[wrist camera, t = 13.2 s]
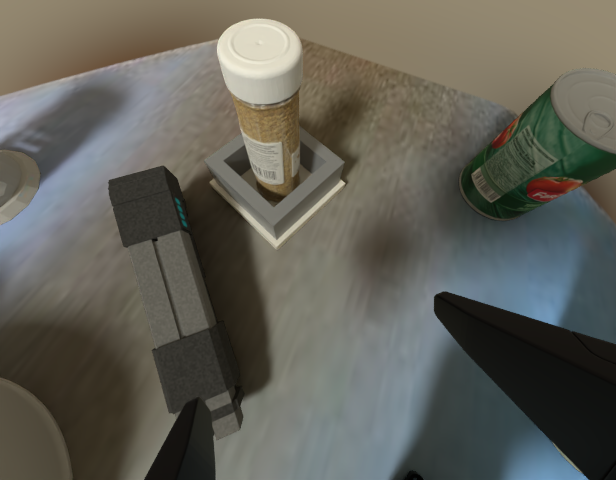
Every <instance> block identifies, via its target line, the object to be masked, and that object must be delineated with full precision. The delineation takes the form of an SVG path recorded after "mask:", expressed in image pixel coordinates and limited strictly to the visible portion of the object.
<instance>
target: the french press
mask: <svg viewBox="0 0 616 480" xmlns="http://www.w3.org/2000/svg"><path fill="white" fill-rule="evenodd" d="M40 174H41V173H40V171H39V169H38V166H37V164H36V162H35V160H33V159H32V158H30V157H29V156H27V155H26V154H24V153H23V152H17V151H11V150H0V225H1V224H3V223H5V222H8V221H10V220H11V219H13V218H14V217H15V216H16V215H17V214H18V213H20V212H21V211H22V210H23V209H24V208H25V207H27V206H28V205H29V203H30V201H31V200H32V198H33V197H34V195H35V193H36V192H37V190H38V188H39V181H40Z"/></svg>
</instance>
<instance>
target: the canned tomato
mask: <svg viewBox="0 0 616 480" xmlns="http://www.w3.org/2000/svg"><path fill="white" fill-rule="evenodd" d="M614 169H616V74H614V73H611V72H607V71H604V70H598V69H589V68H583V69H575V70H572V71H568V72H566V73H565V74H563V75H561V76H560V77H559V78H558V79H557V80H556V81H555V82H554V84H553V85H552V86H551V87H550V88H549V89H548V90H546V91H545V92H544V93H543V94H542V95H541V96H539V98H538V99H536V101H535V102H534V103H533V104H531V105H530V106H529V107H528V108H527V109H526V110H525V111H524V112H523V113H522V114H520V116H519V117H518V118H517V119H515V120H514V121H513V122H512V123H511V124H510V125H509V126H508V127H507V128H506V129H505V130H504V131H503V132H502V133H500V134H499V135H498V136H497V137H496V138H495V139H494V140H493V141H492V142H491V143H490V144H489V145H488V146H487V147H486V148H485V149H483V150H482V151H481V152H480V153H479V154H478V155H477V156H476V157H475V158H474V159H473V160H472V161H471V162H470V163H469V164H467V165H466V166H465V167H464V168H463V170H462V171H461V173H460V176H459V187H460V191H461V193H462V196H463V198H464V199H465V201H466V202H467V203H468V204H469V205H470V206H471V207H472V208H473V209H474V210H475V211H477V212H478V213H480V214H481V215H483V216H485V217H488V218H490V219H494V220H499V221H507V220H513V219H515V218H518V217H520V216H521V215H523V214H525V213H527V212H529V211H531V210H534V209H535V208H537V207H539V206H541V205H543V204H545V203H548V202H550V201H551V200H553V199H556V198H558V197H559V196H561V195H564V194H566V193H568V192H569V191H572V190H574V189H576V188H578V187H580V186H582V185H584V184H587V183H588V182H590V181H592V180H594V179H597V178H598V177H600V176H602V175H604V174H607V173H609V172H610V171H612V170H614Z"/></svg>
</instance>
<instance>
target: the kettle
mask: <svg viewBox="0 0 616 480" xmlns="http://www.w3.org/2000/svg"><path fill="white" fill-rule="evenodd" d="M0 480H73V474H72V467H71V462H70V457H69V453H68V449H67V446H66V443H65V440H64V437H63V435H62V432H61V430H60V428H59V426H58V424H57V422H56V421H55V419H54V417H53V416H52V414H51V413H50V412H49V410H48V409H47V408H46V407H45V405H44V404H43V403H42V402H41V401H40V400H39V399H38V398H37V397H36V396H34V395H33V394H32V393H31V392H29V391H28V390H26V389H25V388H23V387H22V386H20V385H18V384H16V383H14V382H12V381H9V380H7V379H4V378H1V377H0Z"/></svg>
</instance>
